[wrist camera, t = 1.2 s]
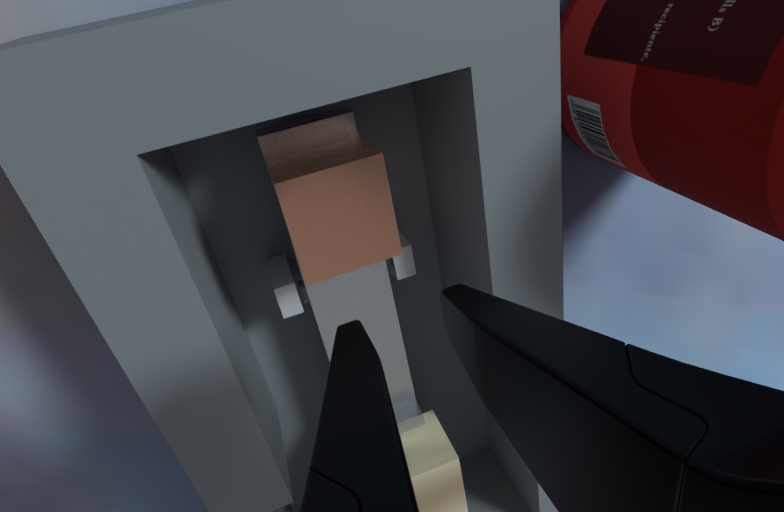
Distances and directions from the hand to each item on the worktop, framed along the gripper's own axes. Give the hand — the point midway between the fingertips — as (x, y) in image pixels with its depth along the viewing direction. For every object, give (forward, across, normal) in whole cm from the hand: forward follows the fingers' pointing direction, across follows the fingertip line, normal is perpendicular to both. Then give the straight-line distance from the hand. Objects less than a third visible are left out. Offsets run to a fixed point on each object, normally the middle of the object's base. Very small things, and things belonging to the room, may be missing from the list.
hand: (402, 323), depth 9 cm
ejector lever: (+8, 0, +7) cm, 11 cm away
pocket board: (+10, 0, +6) cm, 12 cm away
